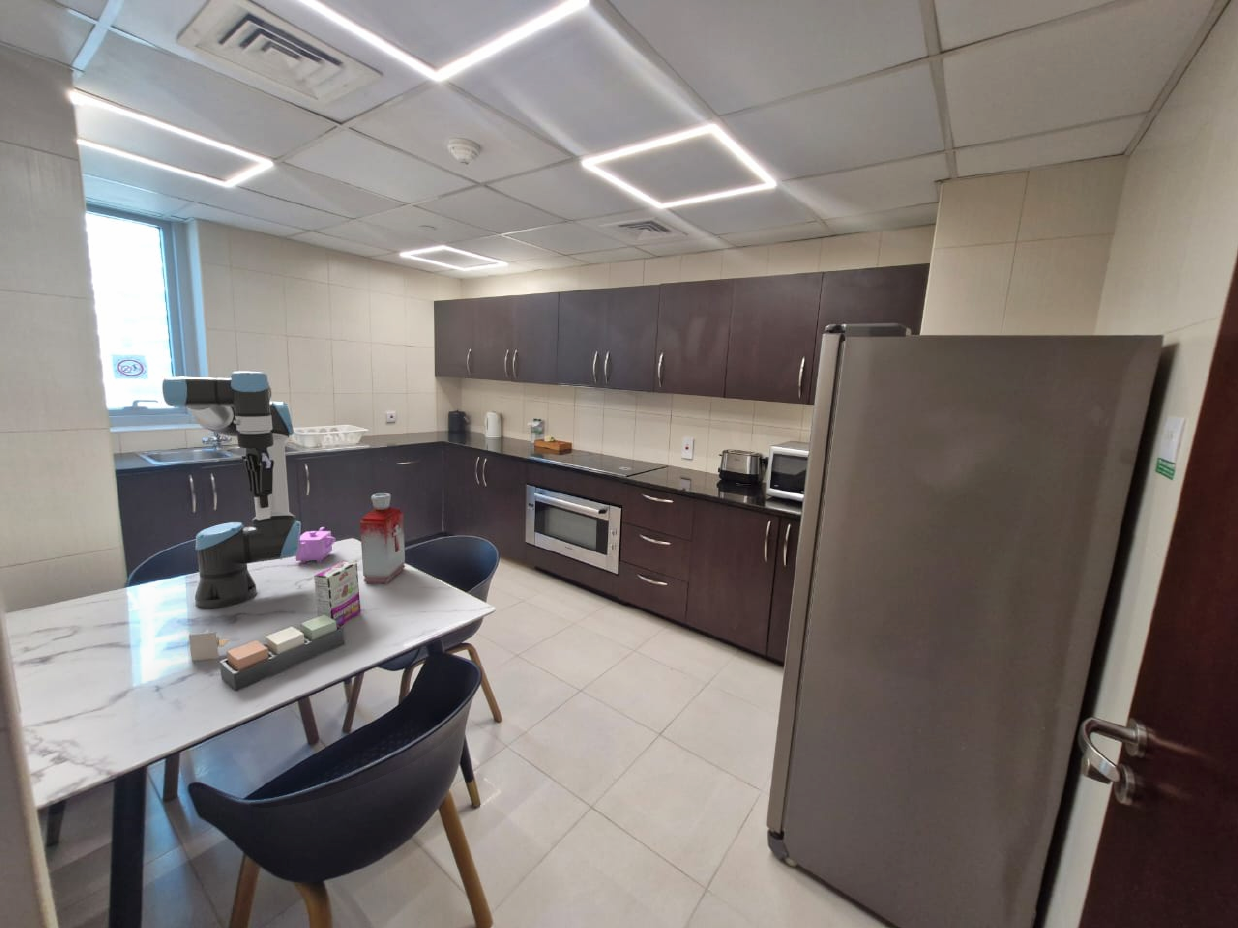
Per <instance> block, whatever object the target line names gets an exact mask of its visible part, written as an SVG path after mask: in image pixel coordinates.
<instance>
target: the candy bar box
mask: <svg viewBox="0 0 1238 928" xmlns="http://www.w3.org/2000/svg"><path fill="white" fill-rule="evenodd" d="M357 564H358V563H357V562H354V561H346V560H345V561H344V560H343V561H341V562H340V563H337V564H335V565H333V566H331V567H329V568H327V569H325V570H323V571H321V572H319V573H317V574H316V575H314V585H315V586H314V587H315V594H316V595H315V596H316V604H317V605H316V606H317V617H319V616H322V615H326V616H328V617H330V618H331V619H333V620H335V621H336V625H338V626H340V627H342V626H343V625H344V624H346V623H349V622H348V621H351V620H352V619H353V618H355V617H357V616H358V615H359V614H361V599H360V590H359V589H360V588H359V577H358V565H357Z"/></svg>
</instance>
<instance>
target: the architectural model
mask: <svg viewBox="0 0 1238 928" xmlns="http://www.w3.org/2000/svg"><path fill="white" fill-rule="evenodd" d="M188 638H189V646H190V647H189V650H190V657H191V661H203V660H210V659H211V660H212V659H219V647H220V648H221V647H224V646H226V645H227V643H228V642H229V641H230V638H220V639H219V636H217V632H216V631H215V632H214V631H213V632H209V629H207V630H206V631H205V632H204V633H193V634H189V635H188Z"/></svg>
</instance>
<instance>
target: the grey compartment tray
mask: <svg viewBox="0 0 1238 928" xmlns="http://www.w3.org/2000/svg"><path fill="white" fill-rule="evenodd" d="M336 626H337V630H336V631H334V632H331V633H329V634H326V635H324V636H322V637H319V638H317V639H314V640H312V641H310V640H309V639H307V638H305V637H304V644H302V645H300V646H297V647H295V648H292V649H290V650H287V651H285V652H282V653H280V654H278V655H274V654H273V653H271V652H270V651H269V650H268V657H269V658H268V659H265V660H263V661H261V662H258V663H256V664H253V665H251V666H248V667H246V668H243V669H241V670H239V671H235V670H233V669H232V668H231V667H230V666H229V665H228V657H227V658H225V659H222V660H220V661H219V669H220V677H221V678H220V679H221V680H222V681H223V682H225V683H226V684H227V685H228V686H229V687H230V688H231V689H232V690H234V691H235V692H238V691H240V690H241V691H242V690H243V689H245V688H248V687H249V686H252V685H254V684H256V683H259V682H261V681H264V680H266V679H268V678H270V677H273V676H274V675H276V674H279V673H280V674H281V672H285V671H287V670H288V669H291V668H293V667H295V666H298V665H299V664H302V663H304V662H307V661H309V660H312V659H314V658H316V657H319V656H321V655H322V654H325V653H327V652H329V651H331V650H334V649H336V648H338V647H341V646H343V645H345V643H346V642H345V630H344V628H343V627H342V626H338V625H336ZM299 631H300V632H301V629H299ZM263 645H264V646H265V647H267V644H266V643H264V644H263Z"/></svg>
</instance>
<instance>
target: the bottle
mask: <svg viewBox="0 0 1238 928" xmlns="http://www.w3.org/2000/svg"><path fill="white" fill-rule="evenodd" d="M391 497H392V494H390V493H387V492H377V493H375V494H372V495H371V497H370V498H371V502H372V505H373V509H372V510H371V511H369V512H368V513H367V514H366V515H365V516H363V517H362V519H361V520H360V521H359V527H360V528H359V529H360V530H359V531H360V547H361V560H362V561H361V564H362V575H363V577H364V578H363V582H365V583H367V584H368V583H369V584H385V585H386V584H388V583H389V582H390V581H391V580H392V579H393V578H394V577H395V576H396V575H398V574H399V573H400V572H401V571H403V569H405V568H406V565H405V562H406V555H405V554H406V553H405V552H406V551H405V531H404V530H405V528H404V527H405V526H404V512H403V511H402V510H401V509H400V508H396V507H390V502H391Z"/></svg>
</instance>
